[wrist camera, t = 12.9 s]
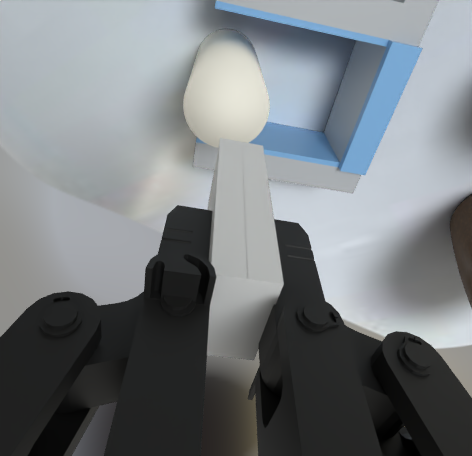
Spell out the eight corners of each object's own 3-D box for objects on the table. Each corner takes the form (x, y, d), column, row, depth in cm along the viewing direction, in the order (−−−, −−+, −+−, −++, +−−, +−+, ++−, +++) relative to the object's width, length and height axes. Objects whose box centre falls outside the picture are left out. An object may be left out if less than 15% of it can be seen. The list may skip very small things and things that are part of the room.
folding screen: (259, -301, 19) (271, -403, 14) (485, -225, 21) (575, -288, 15) (197, 135, 33) (191, 170, 27) (335, 160, 34) (355, 197, 29)
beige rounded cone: (200, 22, 28) (188, 53, 19) (263, 36, 28) (279, 72, 19) (193, 87, 30) (178, 141, 21) (249, 98, 31) (258, 154, 22)
